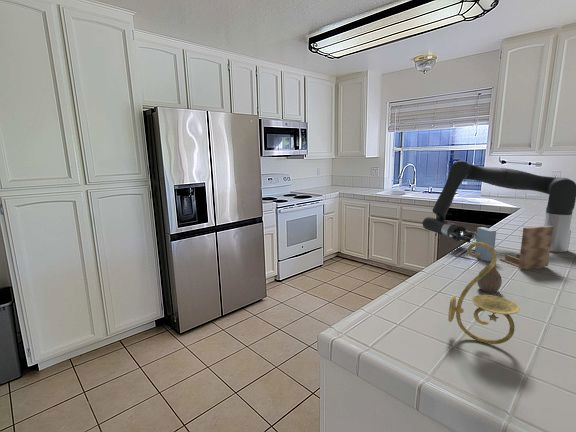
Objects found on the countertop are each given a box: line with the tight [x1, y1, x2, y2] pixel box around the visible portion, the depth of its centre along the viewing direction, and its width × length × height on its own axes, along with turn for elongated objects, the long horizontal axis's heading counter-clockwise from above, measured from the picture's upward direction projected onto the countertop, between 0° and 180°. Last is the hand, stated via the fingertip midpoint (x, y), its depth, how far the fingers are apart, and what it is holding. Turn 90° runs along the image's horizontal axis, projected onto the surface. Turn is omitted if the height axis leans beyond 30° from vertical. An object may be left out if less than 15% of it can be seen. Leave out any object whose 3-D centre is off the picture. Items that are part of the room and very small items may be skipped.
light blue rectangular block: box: [474, 226, 497, 262], centre depth 138 cm, size 3×7×13 cm, turn 11°
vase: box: [476, 264, 503, 294], centre depth 106 cm, size 7×7×9 cm
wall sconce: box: [447, 241, 520, 345], centre depth 76 cm, size 14×10×25 cm
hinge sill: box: [499, 225, 553, 270], centre depth 130 cm, size 12×12×17 cm
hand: (478, 239), depth 142 cm, fingers open, 8 cm apart
